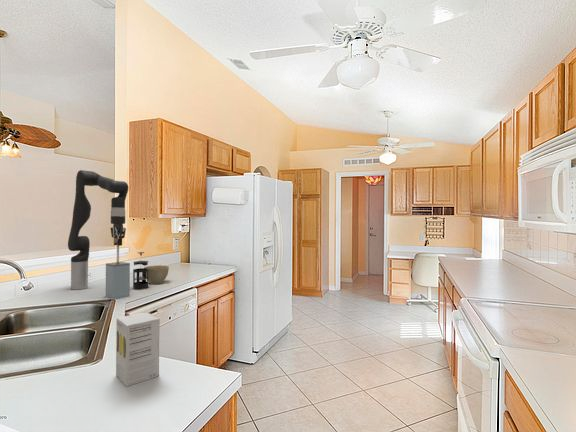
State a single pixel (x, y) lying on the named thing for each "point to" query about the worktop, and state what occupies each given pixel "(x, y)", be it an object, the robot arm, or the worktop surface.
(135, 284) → the french press
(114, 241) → the plunger
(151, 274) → the planter bowl
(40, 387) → the worktop surface
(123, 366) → the supplement box
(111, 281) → the block
